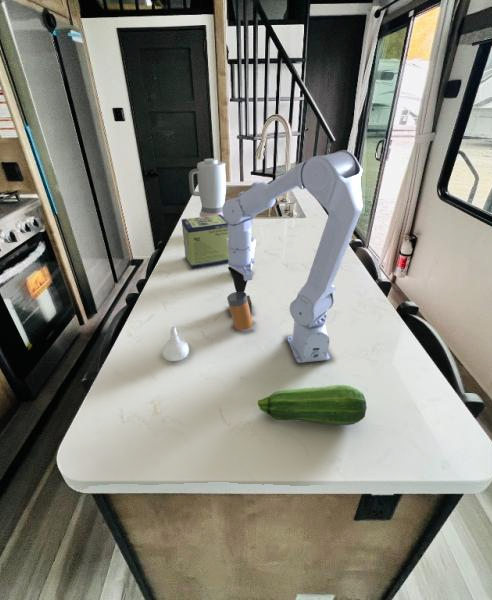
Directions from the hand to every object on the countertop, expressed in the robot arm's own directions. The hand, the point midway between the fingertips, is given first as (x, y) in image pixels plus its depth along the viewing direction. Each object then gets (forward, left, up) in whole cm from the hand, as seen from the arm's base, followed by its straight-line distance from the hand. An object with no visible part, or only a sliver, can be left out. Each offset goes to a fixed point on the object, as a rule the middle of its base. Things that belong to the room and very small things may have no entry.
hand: (240, 291), depth 88 cm
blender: (+59, +4, -7) cm, 60 cm away
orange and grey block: (-4, 0, -7) cm, 8 cm away
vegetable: (-37, -8, -7) cm, 39 cm away
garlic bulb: (-16, +18, -7) cm, 25 cm away
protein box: (+36, +7, -7) cm, 38 cm away
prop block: (0, 0, -7) cm, 7 cm away
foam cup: (+23, -4, -7) cm, 25 cm away
